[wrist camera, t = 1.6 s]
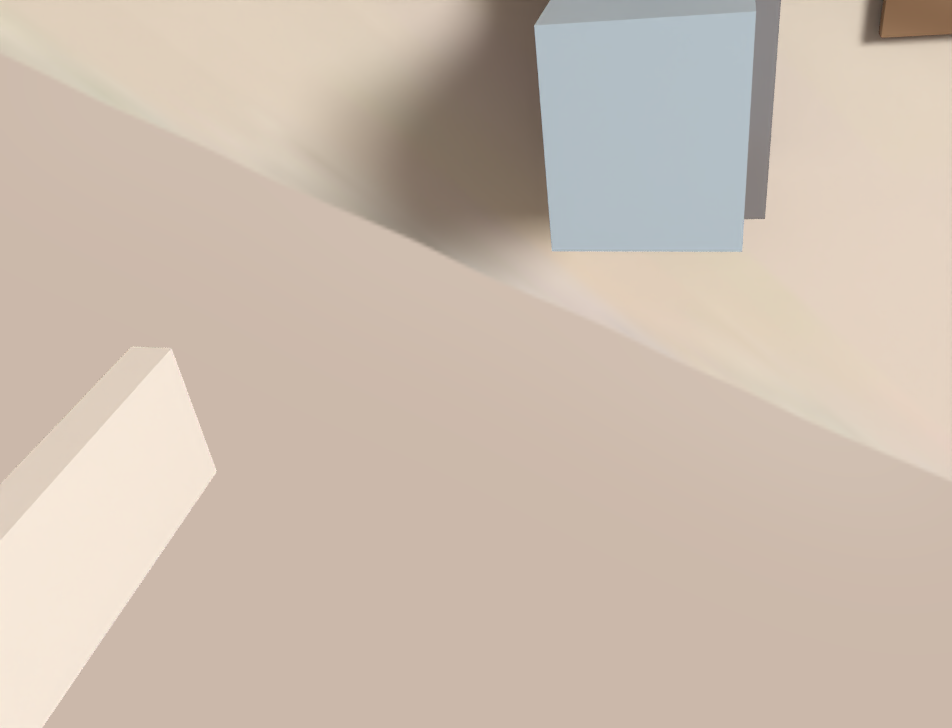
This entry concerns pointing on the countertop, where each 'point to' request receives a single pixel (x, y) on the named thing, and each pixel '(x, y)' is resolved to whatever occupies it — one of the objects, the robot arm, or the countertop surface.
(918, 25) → the coaster
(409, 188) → the countertop surface
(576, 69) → the block
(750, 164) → the power strip
